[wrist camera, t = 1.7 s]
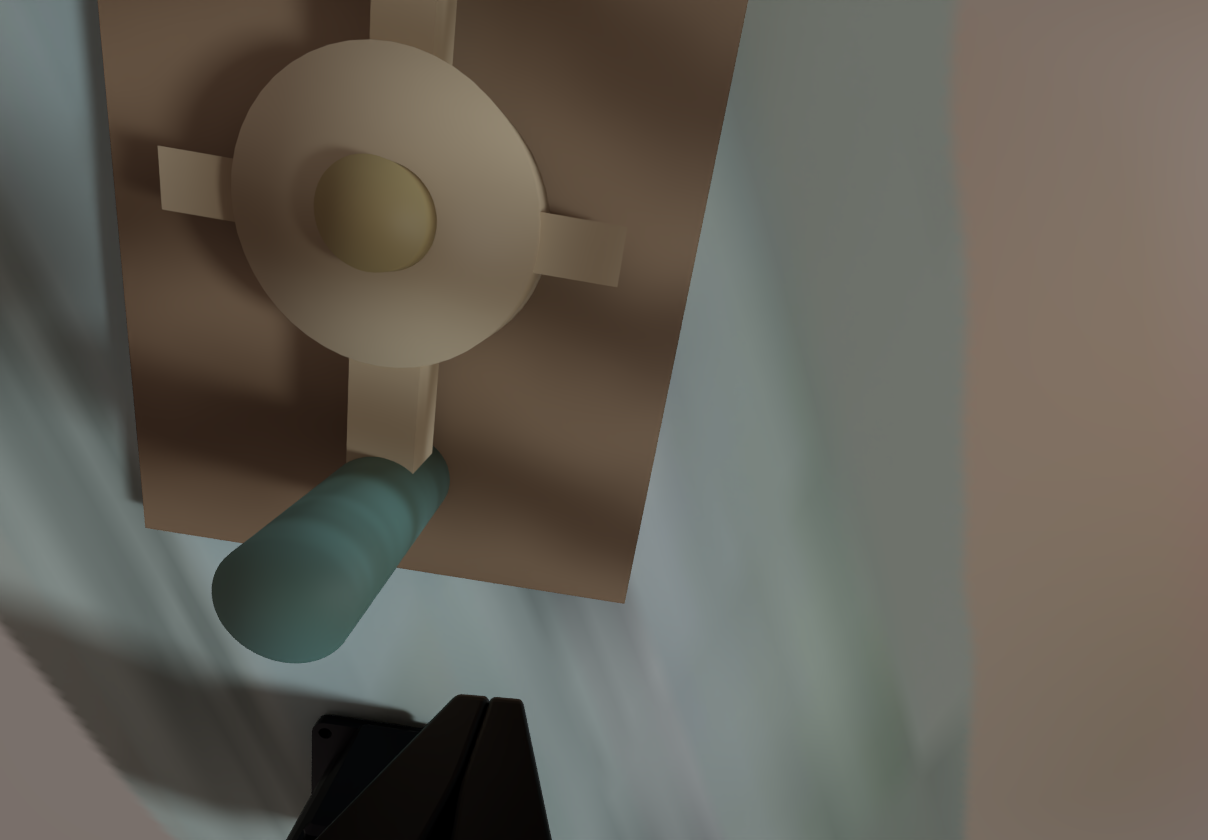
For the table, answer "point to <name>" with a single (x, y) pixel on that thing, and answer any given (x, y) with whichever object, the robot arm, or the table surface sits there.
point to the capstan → (375, 290)
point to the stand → (474, 378)
